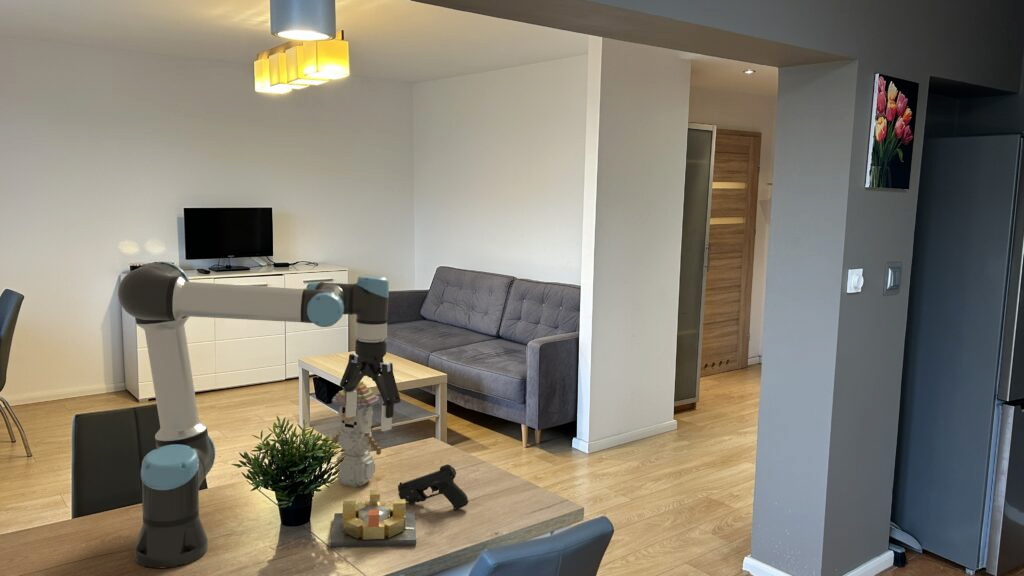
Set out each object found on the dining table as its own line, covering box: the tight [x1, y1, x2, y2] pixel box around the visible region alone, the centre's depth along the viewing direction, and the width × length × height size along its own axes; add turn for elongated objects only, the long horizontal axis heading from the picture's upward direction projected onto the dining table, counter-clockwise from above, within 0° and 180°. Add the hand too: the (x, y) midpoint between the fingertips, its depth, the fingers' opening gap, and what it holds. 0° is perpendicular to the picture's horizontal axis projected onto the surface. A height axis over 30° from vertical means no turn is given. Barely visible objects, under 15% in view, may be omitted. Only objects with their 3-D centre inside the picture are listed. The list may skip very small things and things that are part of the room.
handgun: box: [397, 464, 469, 511], centre depth 208 cm, size 2×17×12 cm, turn 79°
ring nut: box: [342, 489, 407, 540], centre depth 192 cm, size 15×15×6 cm
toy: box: [330, 380, 382, 488], centre depth 221 cm, size 16×12×30 cm
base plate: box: [329, 505, 417, 549], centre depth 192 cm, size 20×16×5 cm
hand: (368, 423), depth 194 cm, fingers open, 13 cm apart
